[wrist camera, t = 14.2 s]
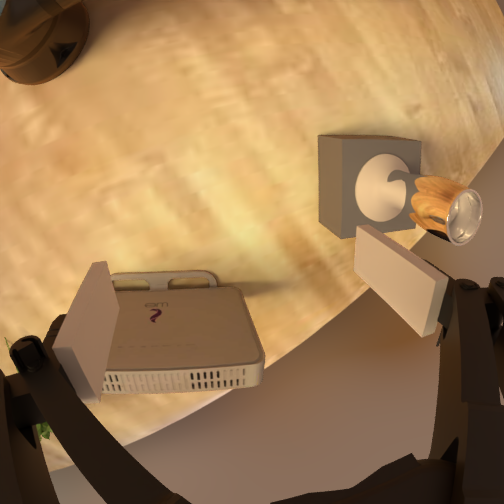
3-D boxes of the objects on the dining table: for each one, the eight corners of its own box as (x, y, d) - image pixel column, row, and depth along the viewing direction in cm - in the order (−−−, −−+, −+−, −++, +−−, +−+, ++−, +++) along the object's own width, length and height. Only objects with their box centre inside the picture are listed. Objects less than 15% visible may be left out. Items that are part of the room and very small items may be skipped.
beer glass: (370, 165, 41) (447, 191, 27) (409, 160, 41) (485, 183, 28) (373, 213, 43) (443, 254, 30) (409, 205, 44) (480, 240, 31)
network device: (237, 268, 52) (270, 347, 34) (236, 313, 55) (264, 399, 37) (82, 274, 46) (42, 354, 28) (91, 319, 50) (65, 405, 32)
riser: (317, 135, 46) (343, 139, 38) (391, 136, 48) (422, 141, 41) (318, 221, 52) (342, 240, 44) (388, 213, 54) (416, 229, 46)
